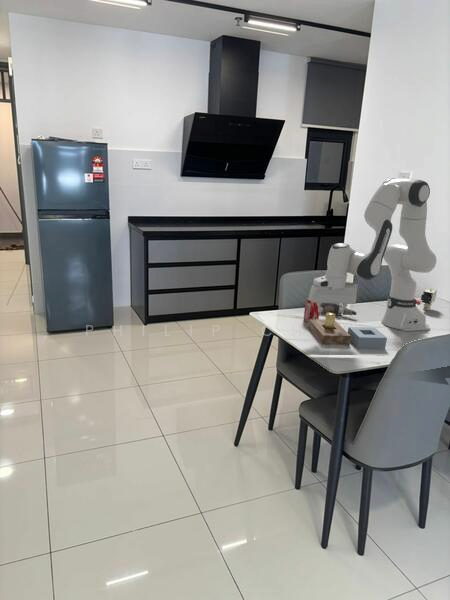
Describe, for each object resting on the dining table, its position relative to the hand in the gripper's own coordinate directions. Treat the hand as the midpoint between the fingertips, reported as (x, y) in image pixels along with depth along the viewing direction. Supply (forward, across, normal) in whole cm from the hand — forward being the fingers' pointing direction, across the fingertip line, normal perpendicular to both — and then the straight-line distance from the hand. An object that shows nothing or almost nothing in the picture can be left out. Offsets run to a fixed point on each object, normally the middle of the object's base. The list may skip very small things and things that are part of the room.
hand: (330, 312), depth 191 cm
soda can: (+12, +2, -19) cm, 23 cm away
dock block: (+12, -14, +8) cm, 20 cm away
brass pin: (+11, 0, 0) cm, 11 cm away
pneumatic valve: (+11, -73, -45) cm, 86 cm away
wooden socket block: (+12, 0, 0) cm, 12 cm away
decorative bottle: (+12, -13, -34) cm, 38 cm away
